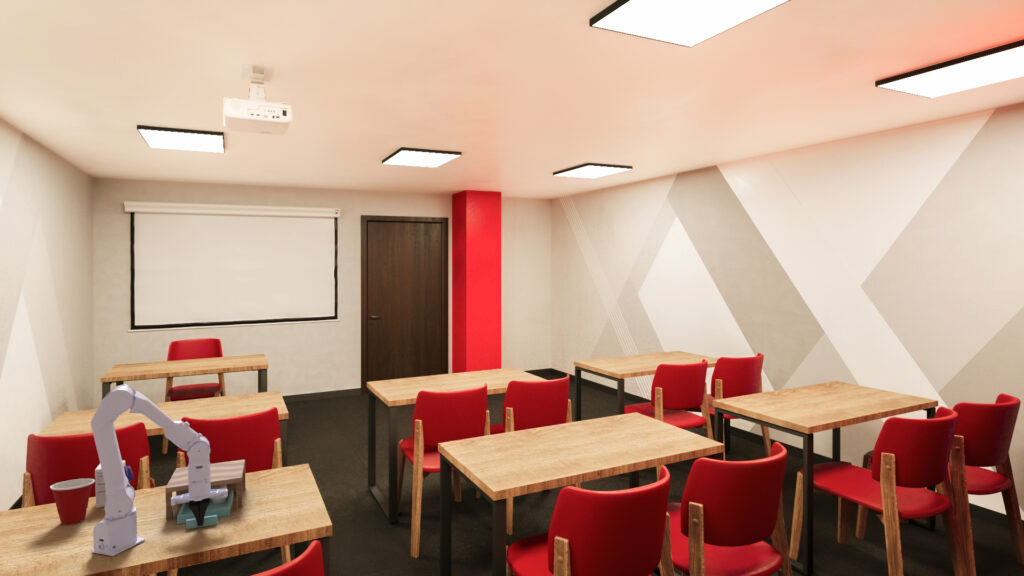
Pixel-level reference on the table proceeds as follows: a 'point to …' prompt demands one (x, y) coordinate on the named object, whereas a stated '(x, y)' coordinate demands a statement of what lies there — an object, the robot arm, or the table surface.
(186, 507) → the tray
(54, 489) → the plastic cup
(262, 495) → the table surface
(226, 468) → the walnut shelf
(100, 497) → the supplement box
